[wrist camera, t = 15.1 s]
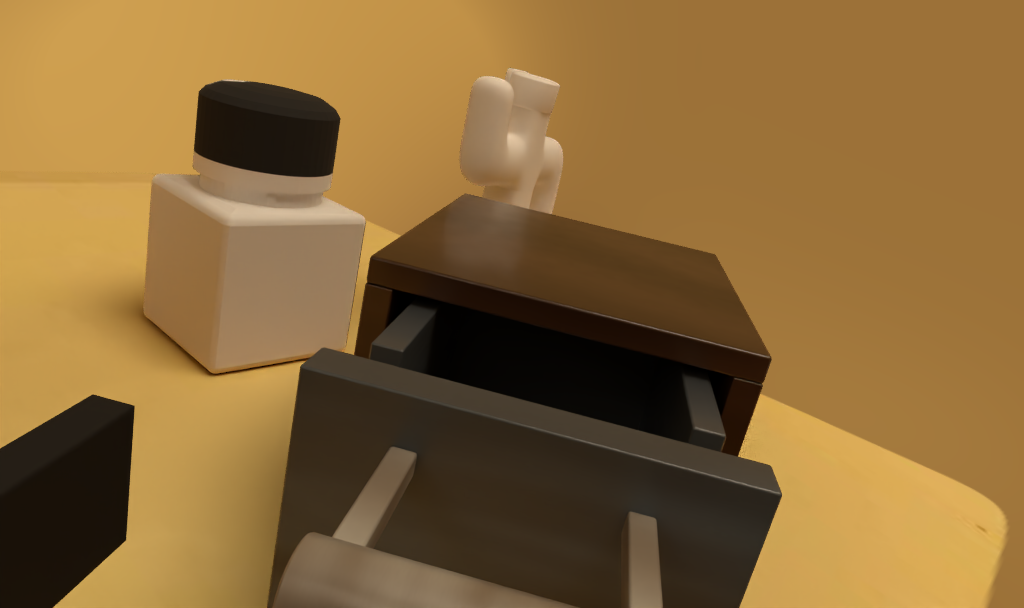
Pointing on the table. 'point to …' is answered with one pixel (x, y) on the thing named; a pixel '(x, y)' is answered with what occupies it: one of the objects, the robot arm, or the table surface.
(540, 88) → the figurine
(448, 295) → the cabinet
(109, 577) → the table surface
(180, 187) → the medicine bottle
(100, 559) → the robot arm
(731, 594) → the grey pull-out drawer
